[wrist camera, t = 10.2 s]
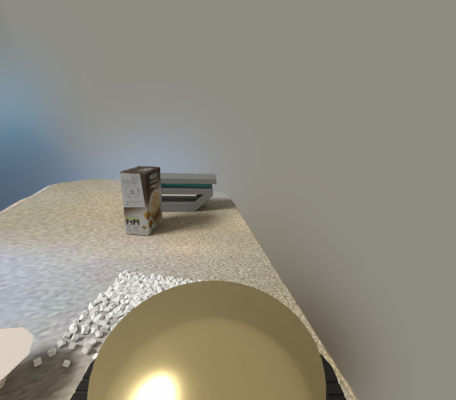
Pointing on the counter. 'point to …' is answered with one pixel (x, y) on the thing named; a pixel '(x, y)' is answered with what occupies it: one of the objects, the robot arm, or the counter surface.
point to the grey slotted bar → (185, 191)
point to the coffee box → (142, 199)
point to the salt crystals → (119, 298)
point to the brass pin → (209, 349)
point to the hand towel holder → (13, 349)
